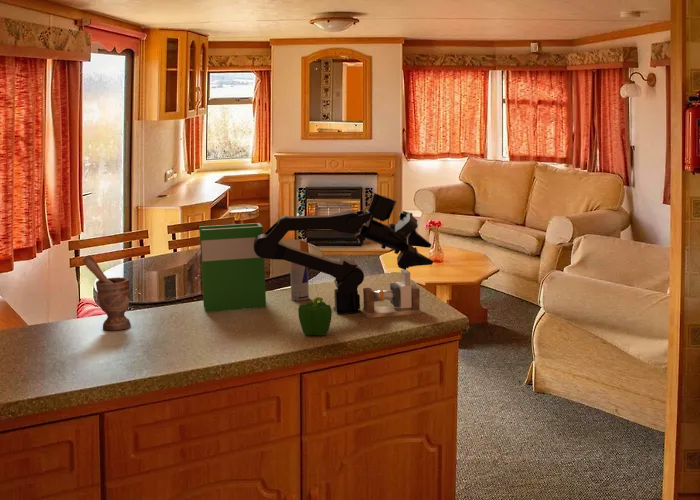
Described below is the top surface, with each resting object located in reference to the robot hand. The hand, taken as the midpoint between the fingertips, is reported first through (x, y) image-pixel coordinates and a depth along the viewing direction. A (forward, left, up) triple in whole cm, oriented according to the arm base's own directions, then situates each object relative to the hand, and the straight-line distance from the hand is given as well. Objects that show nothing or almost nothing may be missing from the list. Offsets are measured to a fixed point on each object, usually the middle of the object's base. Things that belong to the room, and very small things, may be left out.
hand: (431, 254), depth 221 cm
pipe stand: (-13, -3, -15) cm, 20 cm away
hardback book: (-56, +16, -16) cm, 60 cm away
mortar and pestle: (-90, +2, -16) cm, 91 cm away
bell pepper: (-37, -18, -16) cm, 44 cm away
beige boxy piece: (-9, -3, -13) cm, 17 cm away
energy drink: (-36, +20, -16) cm, 44 cm away
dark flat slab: (-12, -3, -13) cm, 18 cm away
